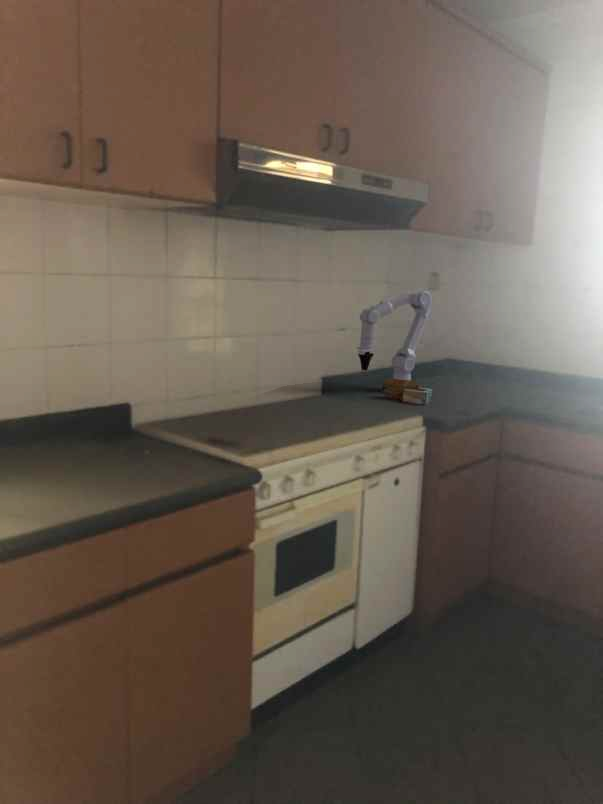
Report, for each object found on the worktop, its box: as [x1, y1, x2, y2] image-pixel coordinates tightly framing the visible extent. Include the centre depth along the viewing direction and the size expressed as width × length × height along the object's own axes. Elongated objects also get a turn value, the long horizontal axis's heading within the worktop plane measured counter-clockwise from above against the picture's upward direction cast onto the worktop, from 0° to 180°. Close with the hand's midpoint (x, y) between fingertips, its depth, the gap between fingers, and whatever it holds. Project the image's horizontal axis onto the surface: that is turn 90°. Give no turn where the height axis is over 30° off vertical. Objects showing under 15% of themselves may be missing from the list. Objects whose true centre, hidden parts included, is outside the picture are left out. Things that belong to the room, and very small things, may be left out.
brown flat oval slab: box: [381, 378, 419, 401], centre depth 272 cm, size 15×3×8 cm, turn 73°
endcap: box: [402, 387, 433, 406], centre depth 270 cm, size 10×10×5 cm
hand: (364, 370), depth 280 cm, fingers closed
